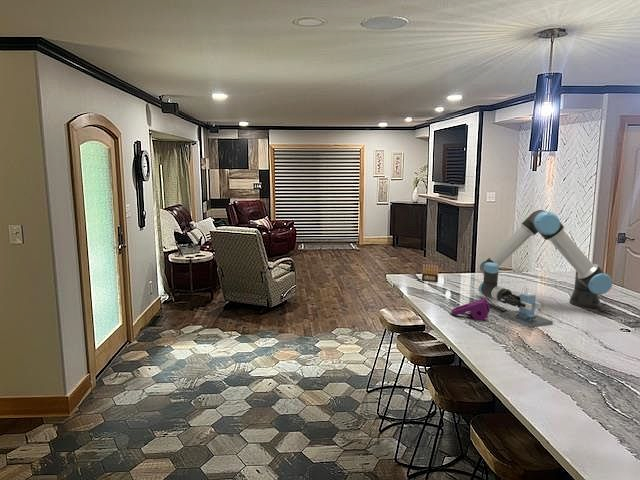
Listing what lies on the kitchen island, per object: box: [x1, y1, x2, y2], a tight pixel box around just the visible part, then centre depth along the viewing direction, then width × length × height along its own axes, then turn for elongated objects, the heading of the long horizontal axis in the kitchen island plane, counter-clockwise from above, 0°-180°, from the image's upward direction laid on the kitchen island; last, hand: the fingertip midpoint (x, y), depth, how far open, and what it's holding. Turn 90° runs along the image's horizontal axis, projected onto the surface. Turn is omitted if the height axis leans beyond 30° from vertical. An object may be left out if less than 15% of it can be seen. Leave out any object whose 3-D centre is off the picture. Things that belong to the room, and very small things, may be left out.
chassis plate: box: [501, 310, 554, 328], centre depth 241 cm, size 20×14×2 cm
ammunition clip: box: [421, 263, 439, 283], centre depth 320 cm, size 11×2×12 cm, turn 67°
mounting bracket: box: [450, 297, 491, 321], centre depth 245 cm, size 9×8×18 cm
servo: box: [514, 292, 539, 319], centre depth 240 cm, size 10×5×13 cm, turn 21°
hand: (535, 306), depth 235 cm, fingers closed on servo, 5 cm apart
